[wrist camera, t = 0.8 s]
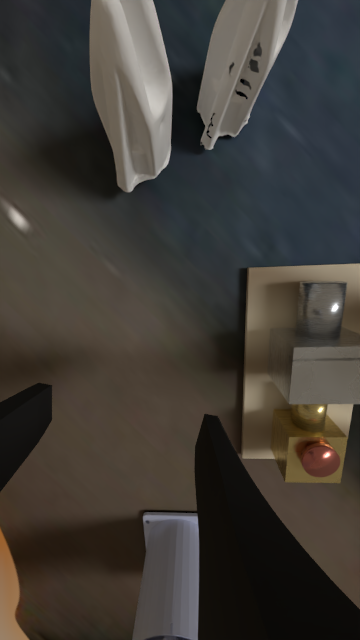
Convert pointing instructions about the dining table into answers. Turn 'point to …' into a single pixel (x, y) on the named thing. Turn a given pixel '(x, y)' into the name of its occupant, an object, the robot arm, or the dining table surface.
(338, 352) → the grey rectangular block
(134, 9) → the salt and pepper shakers
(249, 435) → the board
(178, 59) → the dining table surface
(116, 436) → the dining table surface
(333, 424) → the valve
